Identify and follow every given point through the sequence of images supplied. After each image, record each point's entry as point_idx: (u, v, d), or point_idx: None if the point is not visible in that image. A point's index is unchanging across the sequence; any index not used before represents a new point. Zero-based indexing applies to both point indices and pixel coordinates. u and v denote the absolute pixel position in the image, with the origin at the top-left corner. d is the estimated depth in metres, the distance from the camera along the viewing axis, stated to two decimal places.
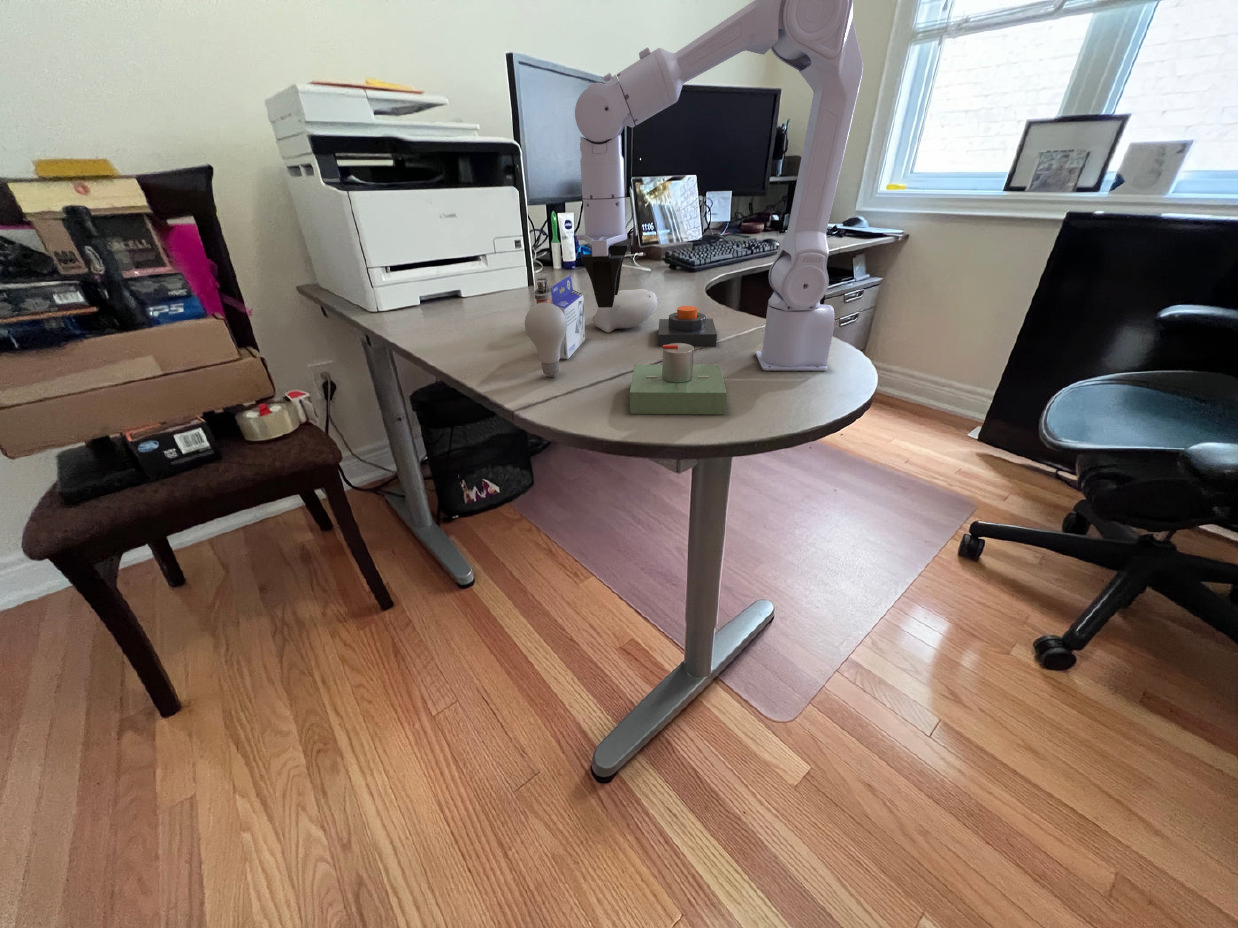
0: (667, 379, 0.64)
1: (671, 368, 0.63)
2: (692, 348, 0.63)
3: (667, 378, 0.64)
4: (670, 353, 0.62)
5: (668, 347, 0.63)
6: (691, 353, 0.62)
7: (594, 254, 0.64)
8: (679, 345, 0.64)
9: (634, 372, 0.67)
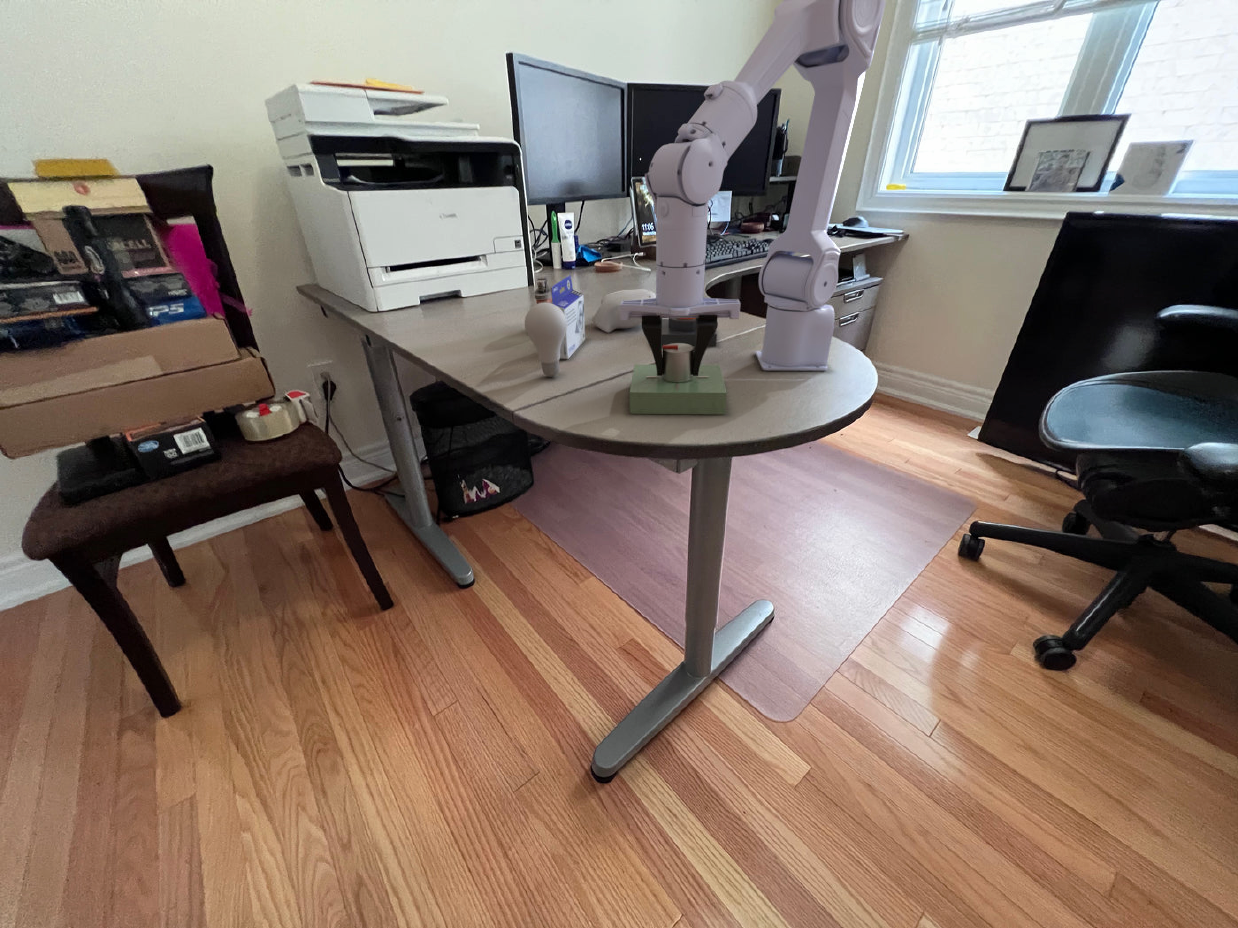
0: (667, 379, 0.64)
1: (671, 368, 0.63)
2: (692, 348, 0.63)
3: (667, 378, 0.64)
4: (670, 353, 0.62)
5: (668, 347, 0.63)
6: (691, 353, 0.62)
7: None
8: (679, 345, 0.64)
9: (634, 372, 0.67)
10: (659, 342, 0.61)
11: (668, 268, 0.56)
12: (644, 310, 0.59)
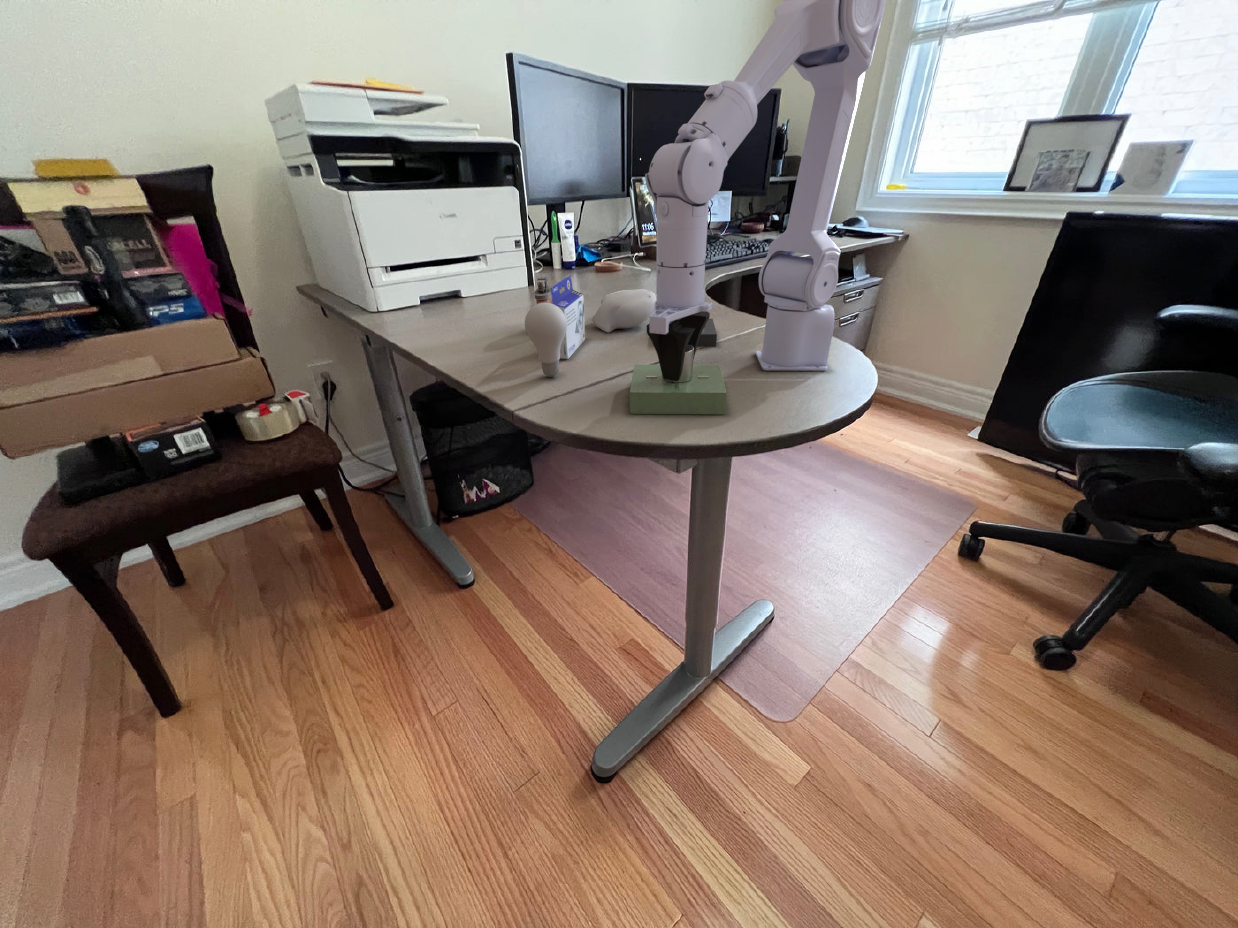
0: (684, 380, 0.63)
1: (689, 366, 0.63)
2: None
3: (684, 379, 0.63)
4: (688, 352, 0.62)
5: None
6: None
7: None
8: None
9: (634, 372, 0.67)
10: (687, 344, 0.60)
11: (697, 267, 0.56)
12: (681, 316, 0.56)
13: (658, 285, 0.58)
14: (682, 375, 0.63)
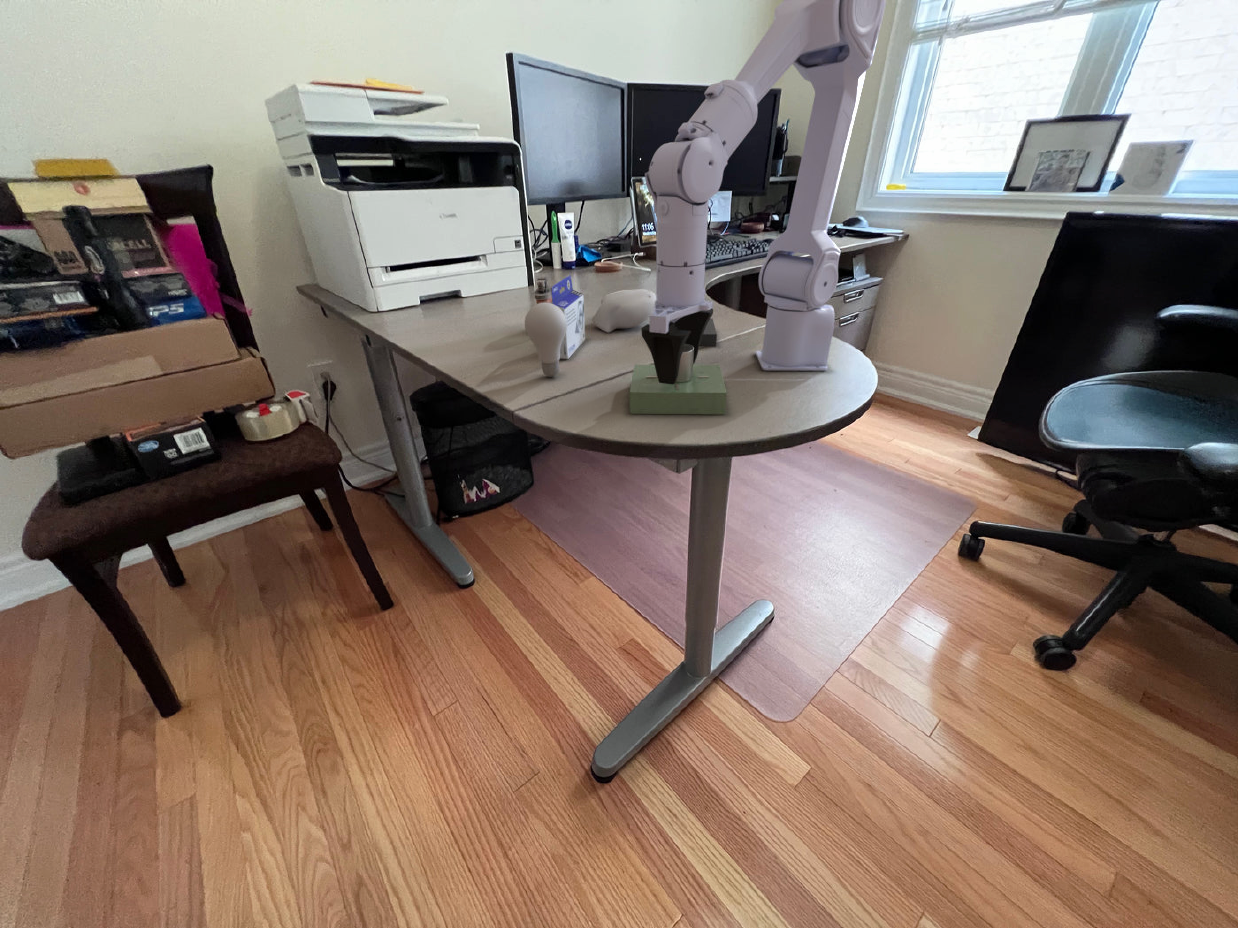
0: (684, 380, 0.63)
1: (689, 366, 0.63)
2: None
3: (684, 379, 0.63)
4: (688, 352, 0.62)
5: None
6: None
7: None
8: None
9: (634, 372, 0.67)
10: (683, 347, 0.58)
11: (697, 266, 0.56)
12: (681, 315, 0.56)
13: (658, 284, 0.58)
14: (682, 375, 0.63)
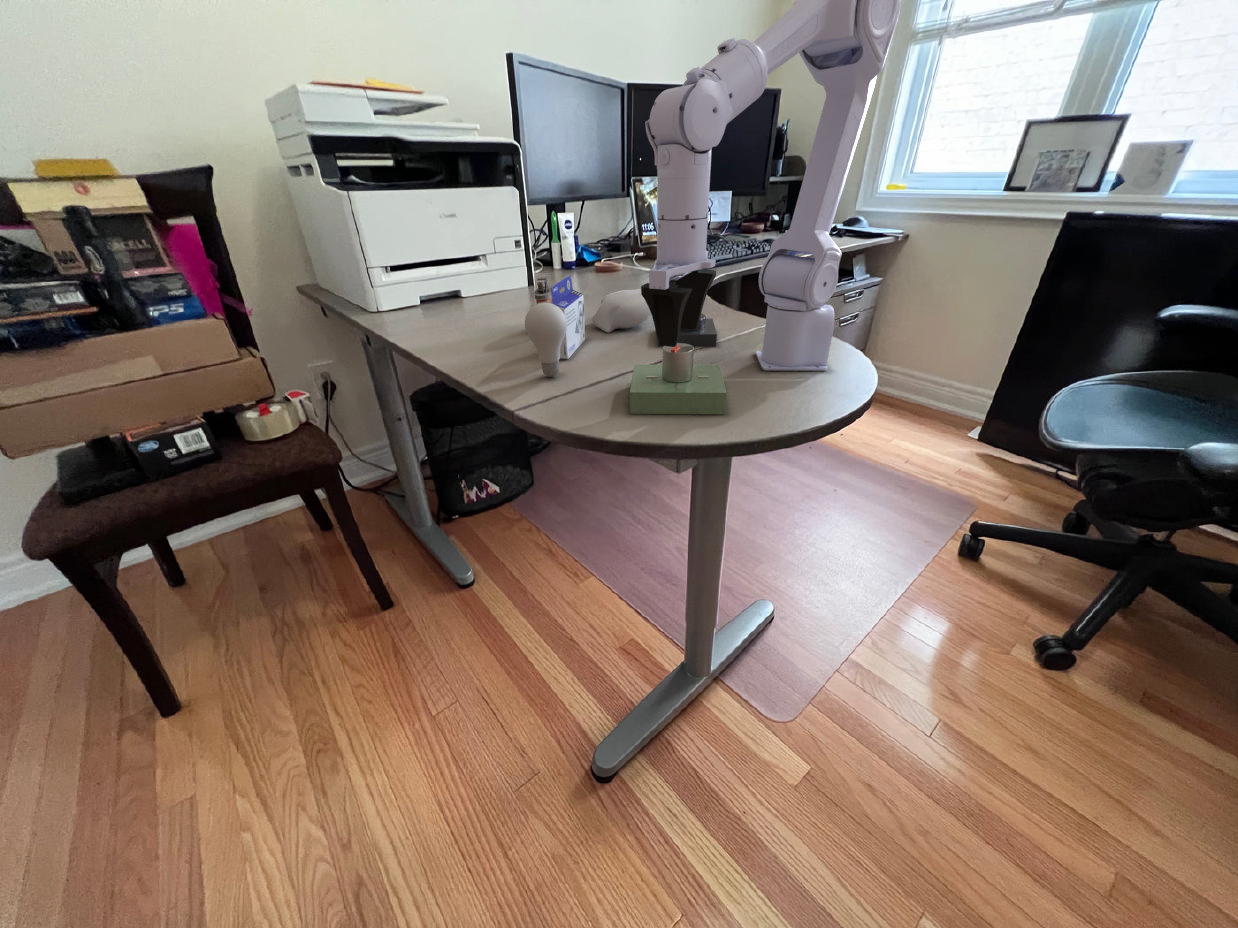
0: (684, 380, 0.63)
1: (689, 366, 0.63)
2: None
3: (684, 379, 0.63)
4: (688, 352, 0.62)
5: (677, 349, 0.62)
6: None
7: None
8: None
9: (634, 372, 0.67)
10: (684, 307, 0.56)
11: (699, 220, 0.54)
12: (682, 271, 0.54)
13: (659, 241, 0.56)
14: (682, 375, 0.63)
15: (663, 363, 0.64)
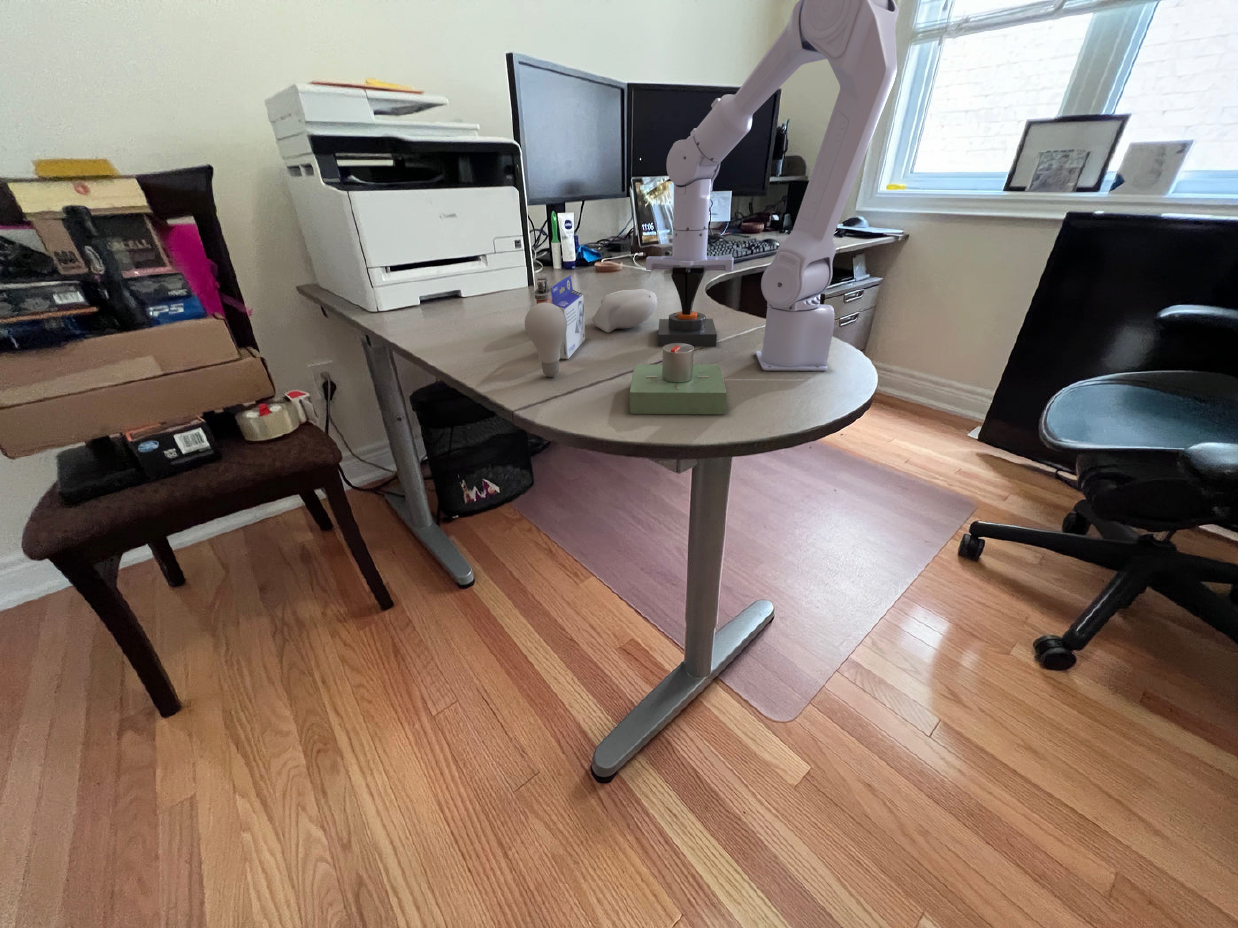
0: (684, 380, 0.63)
1: (689, 366, 0.63)
2: None
3: (684, 379, 0.63)
4: (688, 352, 0.62)
5: (677, 349, 0.62)
6: None
7: (731, 269, 0.81)
8: (671, 346, 0.63)
9: (634, 372, 0.67)
10: (683, 287, 0.83)
11: (679, 231, 0.78)
12: (662, 262, 0.82)
13: None
14: (682, 375, 0.63)
15: (663, 363, 0.64)
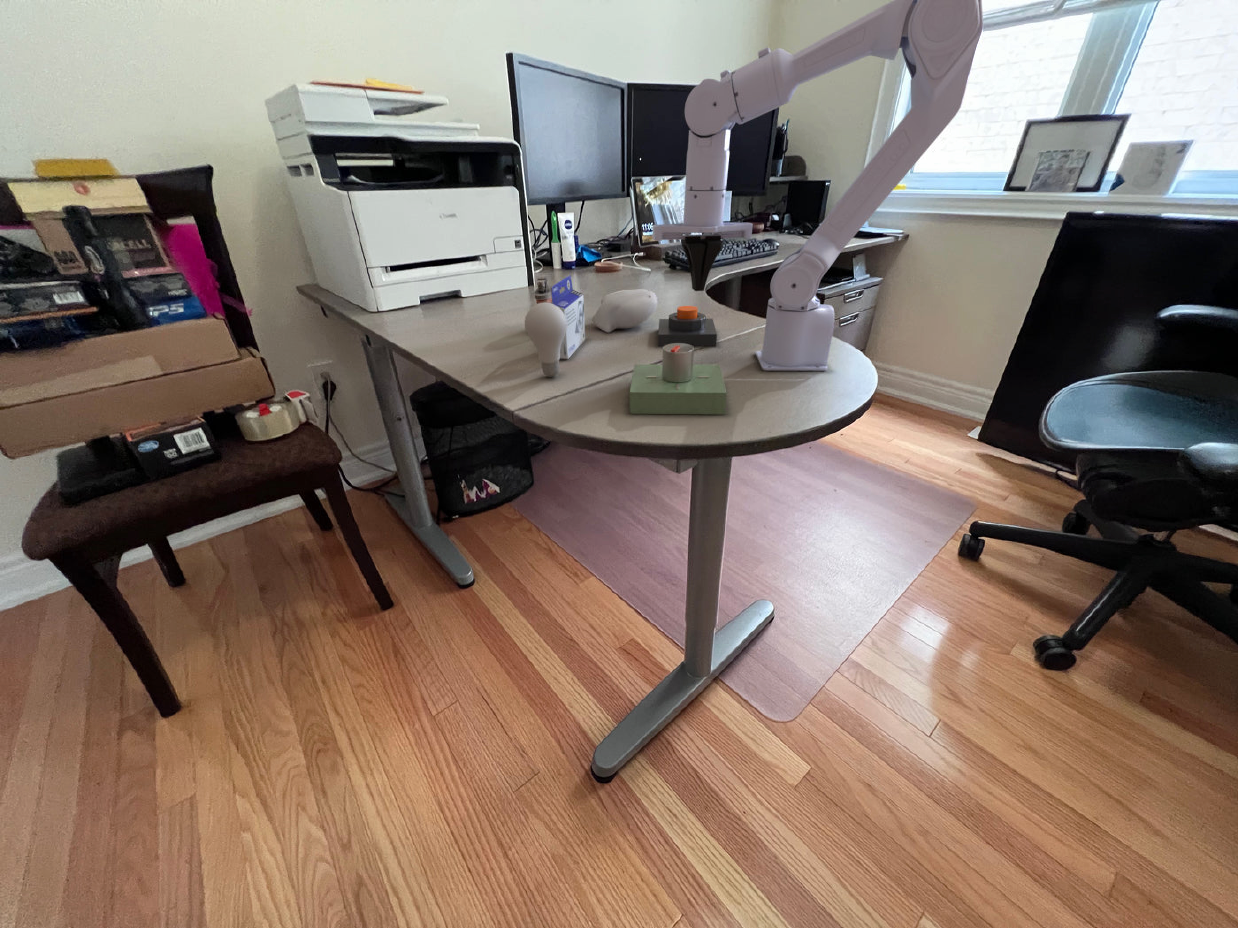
0: (684, 380, 0.63)
1: (689, 366, 0.63)
2: None
3: (684, 379, 0.63)
4: (688, 352, 0.62)
5: (677, 349, 0.62)
6: None
7: (750, 236, 0.73)
8: (671, 346, 0.63)
9: (634, 372, 0.67)
10: (701, 259, 0.72)
11: (700, 191, 0.67)
12: (677, 230, 0.70)
13: None
14: (682, 375, 0.63)
15: (663, 363, 0.64)
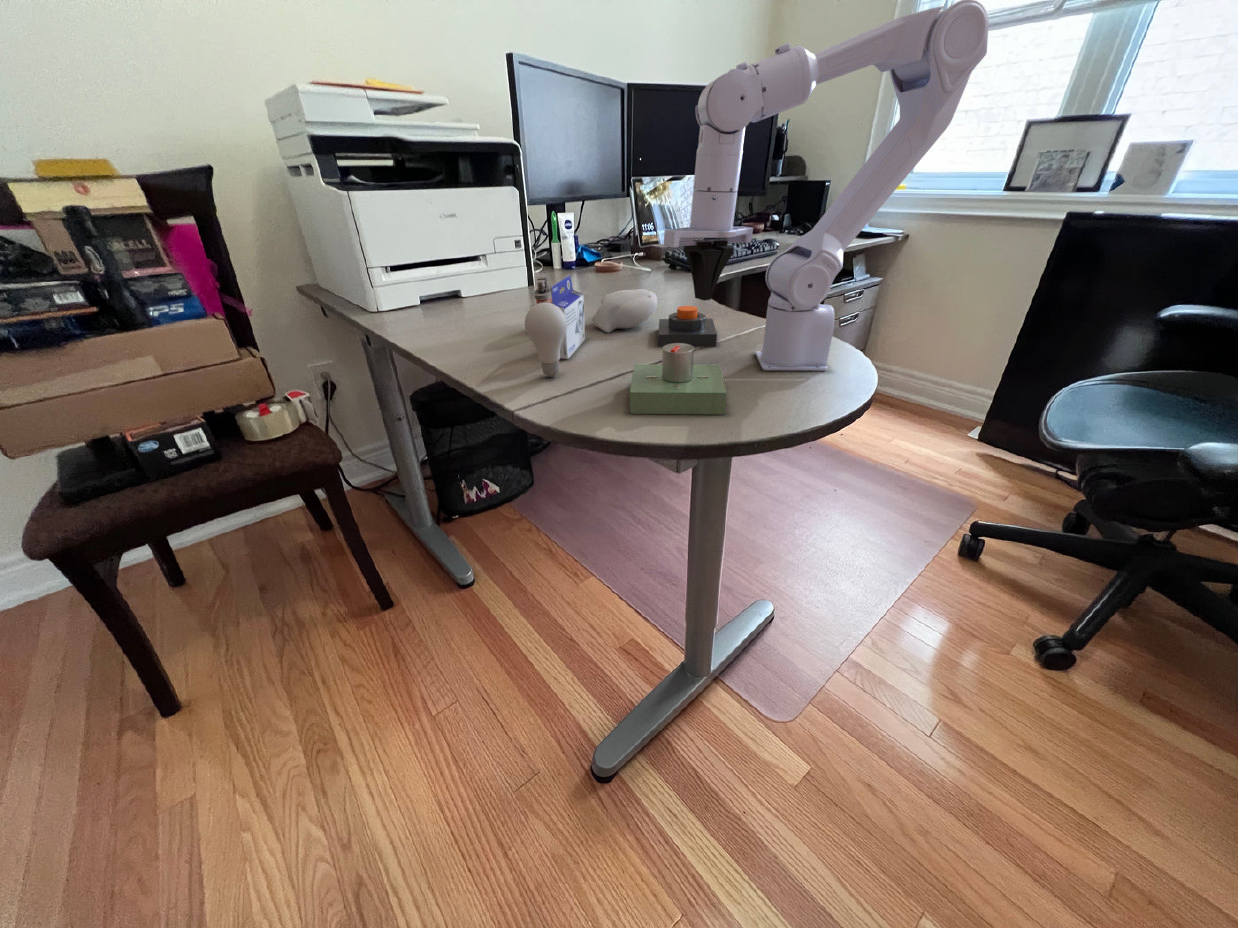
0: (684, 380, 0.63)
1: (689, 366, 0.63)
2: None
3: (684, 379, 0.63)
4: (688, 352, 0.62)
5: (677, 349, 0.62)
6: None
7: None
8: (671, 346, 0.63)
9: (634, 372, 0.67)
10: (714, 266, 0.67)
11: (720, 193, 0.61)
12: (695, 235, 0.63)
13: (691, 209, 0.65)
14: (682, 375, 0.63)
15: (663, 363, 0.64)
